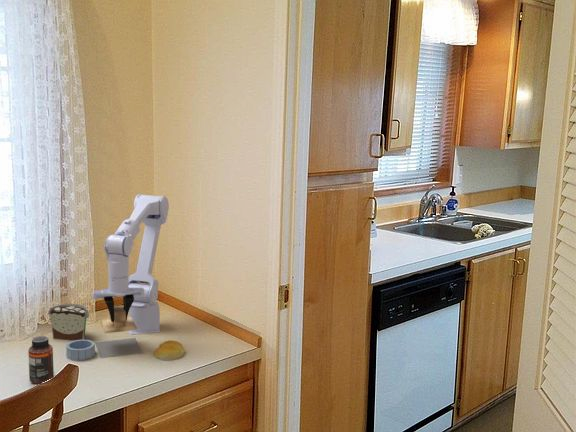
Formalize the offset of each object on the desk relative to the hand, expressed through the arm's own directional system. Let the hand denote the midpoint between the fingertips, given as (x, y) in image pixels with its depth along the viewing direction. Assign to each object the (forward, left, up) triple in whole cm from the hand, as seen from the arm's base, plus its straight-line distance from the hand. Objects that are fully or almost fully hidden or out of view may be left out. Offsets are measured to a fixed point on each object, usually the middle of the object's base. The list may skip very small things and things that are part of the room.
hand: (118, 320), depth 179 cm
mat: (0, 0, -9) cm, 9 cm away
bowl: (+11, +2, -9) cm, 14 cm away
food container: (+12, -13, -9) cm, 20 cm away
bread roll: (-13, +9, -10) cm, 18 cm away
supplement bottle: (+22, +14, -9) cm, 28 cm away
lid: (0, 0, -2) cm, 2 cm away
